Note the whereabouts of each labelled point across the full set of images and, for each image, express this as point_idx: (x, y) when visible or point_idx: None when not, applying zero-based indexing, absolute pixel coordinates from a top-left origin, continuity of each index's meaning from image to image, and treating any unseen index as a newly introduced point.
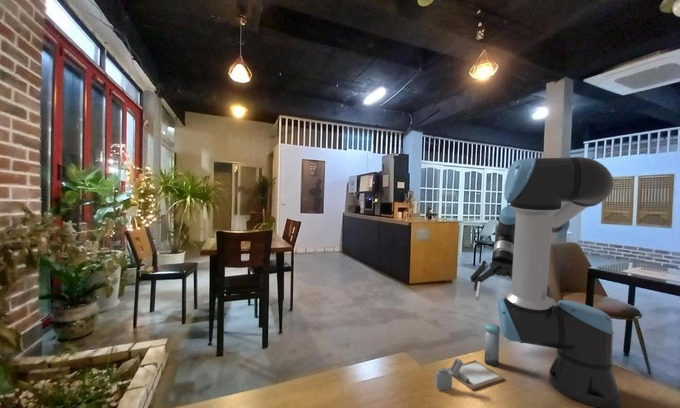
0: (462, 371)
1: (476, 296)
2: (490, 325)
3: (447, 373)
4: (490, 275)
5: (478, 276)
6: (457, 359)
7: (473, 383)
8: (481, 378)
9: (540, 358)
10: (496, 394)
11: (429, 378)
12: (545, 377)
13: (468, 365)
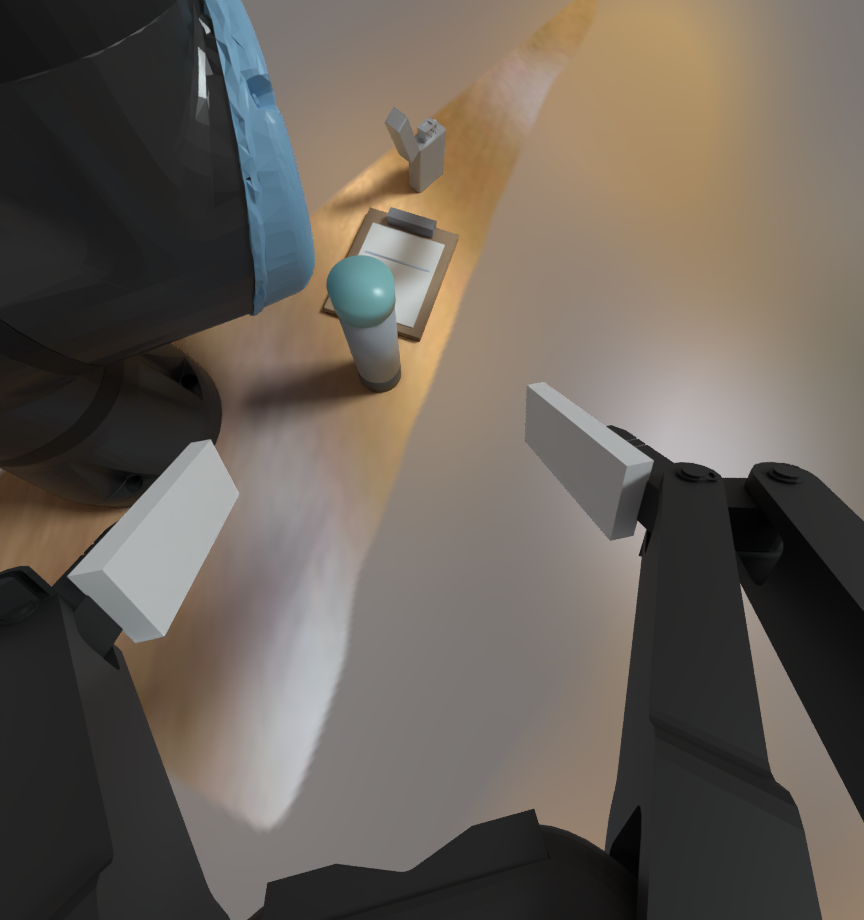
0: (419, 253)
1: (537, 383)
2: (370, 284)
3: (417, 136)
4: (627, 736)
5: (775, 632)
6: (399, 111)
7: (376, 224)
8: None
9: (258, 544)
10: (324, 238)
11: (468, 188)
12: (232, 413)
13: (421, 292)
